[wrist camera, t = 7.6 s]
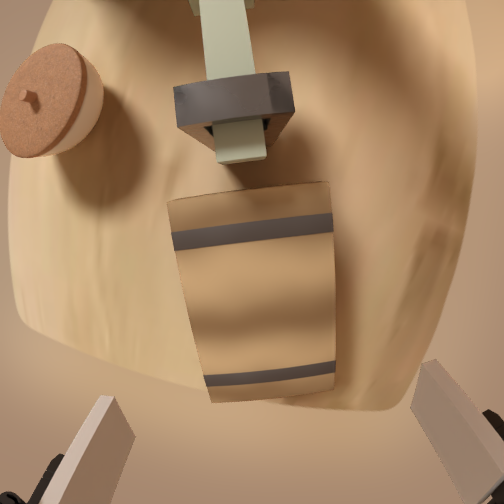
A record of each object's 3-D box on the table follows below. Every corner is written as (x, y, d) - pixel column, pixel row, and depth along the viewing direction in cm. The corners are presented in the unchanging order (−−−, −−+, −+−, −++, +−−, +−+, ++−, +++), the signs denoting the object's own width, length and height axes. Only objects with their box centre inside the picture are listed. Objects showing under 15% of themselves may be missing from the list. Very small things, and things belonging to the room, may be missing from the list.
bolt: (193, 4, 14) (181, -27, 10) (251, -4, 14) (252, -37, 10) (210, 167, 17) (198, 164, 13) (277, 158, 17) (284, 153, 13)
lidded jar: (95, 171, 26) (39, 174, 17) (32, 144, 25) (-24, 142, 16) (137, 75, 23) (94, 41, 14) (66, 60, 22) (18, 35, 13)
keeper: (213, 131, 25) (173, 87, 11) (269, 124, 25) (288, 71, 11) (215, 152, 26) (177, 127, 12) (272, 145, 25) (295, 111, 12)
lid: (180, 197, 21) (166, 202, 17) (316, 181, 21) (329, 182, 17) (215, 376, 25) (211, 403, 21) (325, 363, 25) (334, 389, 21)
